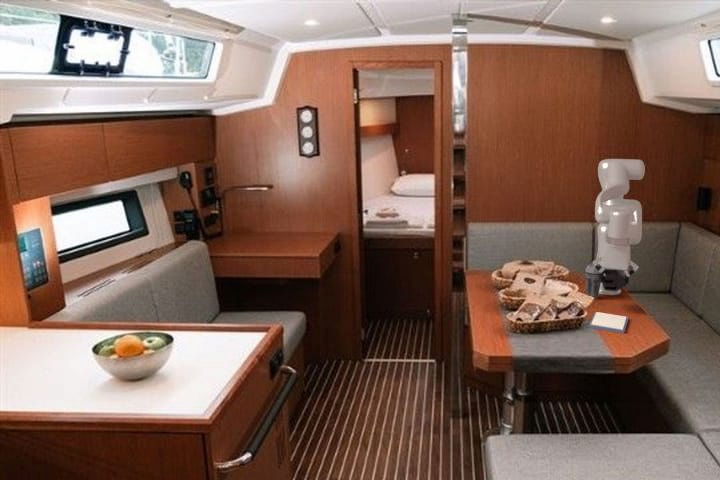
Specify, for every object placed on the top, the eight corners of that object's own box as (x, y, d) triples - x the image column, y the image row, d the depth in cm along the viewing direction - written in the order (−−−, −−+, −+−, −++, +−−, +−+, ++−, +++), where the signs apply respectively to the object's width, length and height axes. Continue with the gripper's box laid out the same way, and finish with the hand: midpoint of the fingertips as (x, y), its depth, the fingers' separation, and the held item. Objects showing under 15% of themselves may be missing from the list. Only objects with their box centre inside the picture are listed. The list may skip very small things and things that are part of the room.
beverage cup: (578, 296, 251) (583, 251, 247) (591, 294, 254) (595, 250, 250) (592, 301, 245) (596, 255, 240) (604, 299, 248) (609, 253, 243)
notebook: (594, 314, 230) (595, 311, 230) (628, 319, 224) (628, 316, 224) (588, 327, 216) (589, 324, 216) (624, 333, 210) (624, 330, 210)
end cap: (624, 292, 227) (626, 275, 225) (604, 290, 228) (606, 274, 227) (620, 283, 236) (622, 268, 234) (601, 282, 238) (603, 266, 236)
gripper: (643, 241, 226) (637, 284, 231) (595, 236, 234) (591, 277, 239) (641, 246, 220) (636, 289, 224) (592, 240, 228) (588, 282, 233)
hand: (613, 283), depth 232 cm, fingers closed on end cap, 8 cm apart
